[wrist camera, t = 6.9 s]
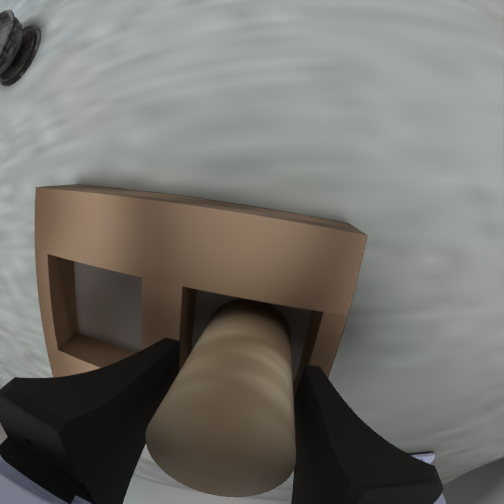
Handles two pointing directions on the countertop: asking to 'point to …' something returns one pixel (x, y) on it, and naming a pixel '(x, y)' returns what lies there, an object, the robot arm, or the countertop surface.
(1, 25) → the grey chess piece
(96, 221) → the block
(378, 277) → the countertop surface
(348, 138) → the countertop surface
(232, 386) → the beech pin
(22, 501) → the robot arm
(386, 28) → the countertop surface
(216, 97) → the countertop surface
